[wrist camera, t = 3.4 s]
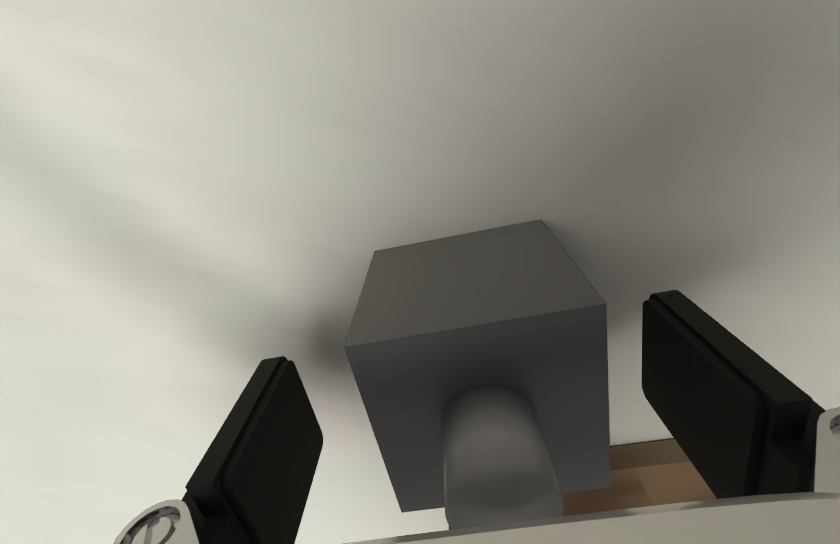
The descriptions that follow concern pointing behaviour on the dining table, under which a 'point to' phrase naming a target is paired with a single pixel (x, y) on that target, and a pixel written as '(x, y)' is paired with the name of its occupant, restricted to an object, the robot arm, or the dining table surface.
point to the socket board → (642, 480)
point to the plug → (484, 374)
